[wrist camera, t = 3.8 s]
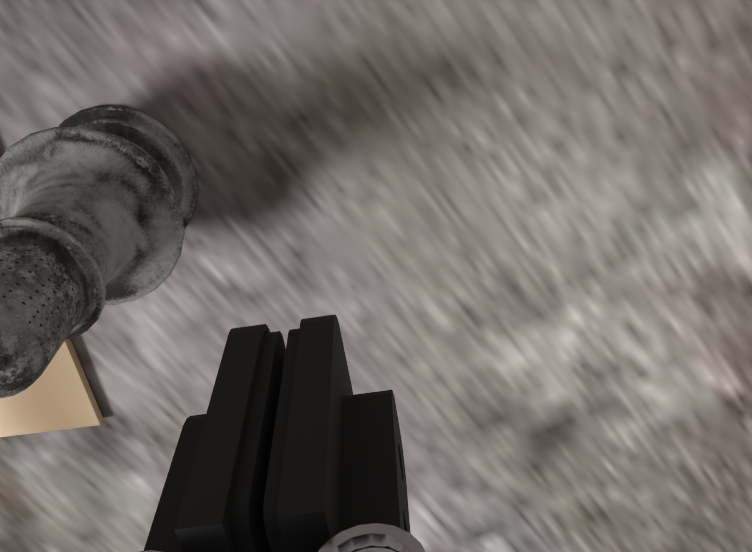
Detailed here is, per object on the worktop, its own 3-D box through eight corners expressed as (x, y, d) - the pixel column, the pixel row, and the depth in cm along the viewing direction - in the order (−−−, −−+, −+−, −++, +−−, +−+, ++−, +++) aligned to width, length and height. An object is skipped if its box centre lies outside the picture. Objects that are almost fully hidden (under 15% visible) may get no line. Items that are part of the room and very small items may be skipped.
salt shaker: (119, 59, 23) (-97, 201, 12) (241, 196, 25) (148, 416, 15) (-2, 164, 24) (-284, 370, 14) (123, 284, 27) (-37, 540, 16)
